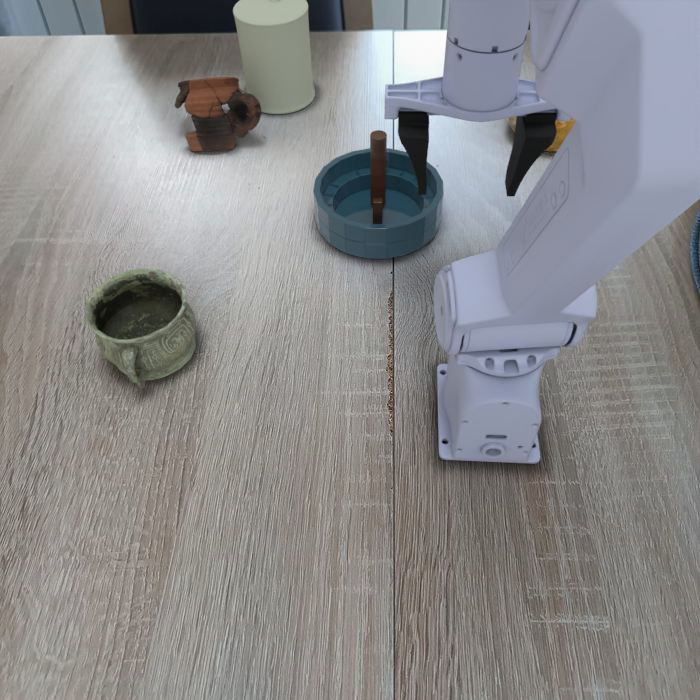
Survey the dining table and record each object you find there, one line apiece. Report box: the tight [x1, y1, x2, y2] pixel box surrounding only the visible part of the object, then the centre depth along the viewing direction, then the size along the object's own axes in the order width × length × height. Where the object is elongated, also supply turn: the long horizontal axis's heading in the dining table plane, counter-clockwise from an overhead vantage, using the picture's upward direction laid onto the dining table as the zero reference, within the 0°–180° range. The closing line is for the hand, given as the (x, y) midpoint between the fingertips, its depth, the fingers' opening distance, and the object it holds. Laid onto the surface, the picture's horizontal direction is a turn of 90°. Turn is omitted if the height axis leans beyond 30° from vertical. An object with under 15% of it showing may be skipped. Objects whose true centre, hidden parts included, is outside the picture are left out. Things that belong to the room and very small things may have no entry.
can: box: [232, 0, 316, 115], centre depth 83 cm, size 9×9×12 cm
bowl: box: [312, 147, 444, 260], centre depth 70 cm, size 13×13×4 cm
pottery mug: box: [174, 76, 263, 152], centre depth 81 cm, size 12×10×8 cm
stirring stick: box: [369, 129, 388, 224], centre depth 67 cm, size 3×2×10 cm, turn 176°
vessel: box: [83, 267, 197, 389], centre depth 58 cm, size 12×9×6 cm
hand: (465, 188), depth 58 cm, fingers open, 7 cm apart
